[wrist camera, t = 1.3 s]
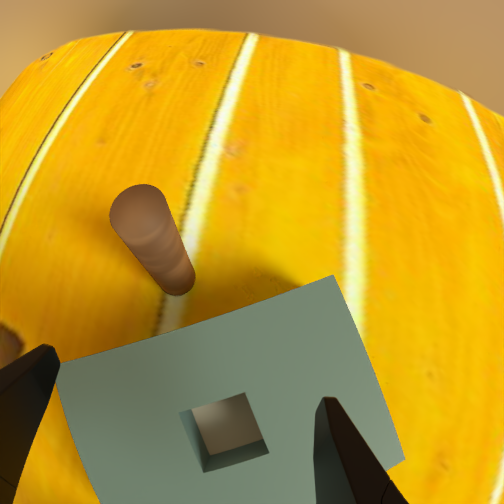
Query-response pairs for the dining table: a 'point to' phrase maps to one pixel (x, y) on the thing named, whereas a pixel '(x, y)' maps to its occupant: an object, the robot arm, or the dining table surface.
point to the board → (225, 404)
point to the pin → (153, 237)
